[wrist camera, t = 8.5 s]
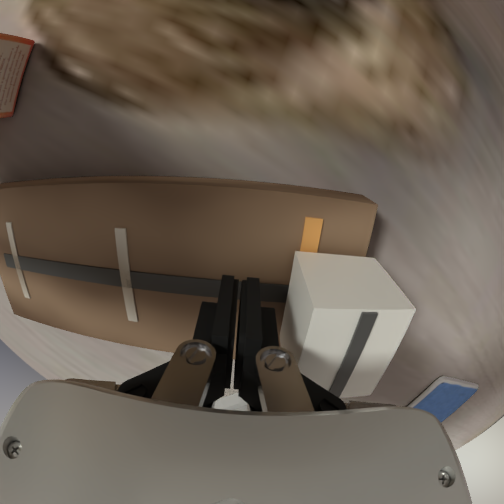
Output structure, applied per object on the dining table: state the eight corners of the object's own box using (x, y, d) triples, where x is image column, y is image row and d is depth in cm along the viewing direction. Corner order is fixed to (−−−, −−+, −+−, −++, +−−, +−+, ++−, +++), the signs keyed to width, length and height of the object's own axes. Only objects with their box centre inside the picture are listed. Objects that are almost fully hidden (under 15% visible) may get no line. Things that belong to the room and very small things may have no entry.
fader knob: (295, 250, 12) (314, 310, 8) (374, 257, 12) (417, 310, 8) (279, 335, 14) (287, 402, 10) (348, 336, 14) (370, 396, 10)
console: (1, 183, 13) (-18, 190, 11) (362, 195, 13) (378, 205, 12) (26, 300, 17) (13, 314, 15) (324, 341, 18) (331, 362, 16)
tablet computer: (384, 456, 30) (386, 462, 29) (327, 456, 28) (328, 464, 27) (477, 381, 23) (481, 387, 22) (437, 370, 21) (442, 379, 20)
